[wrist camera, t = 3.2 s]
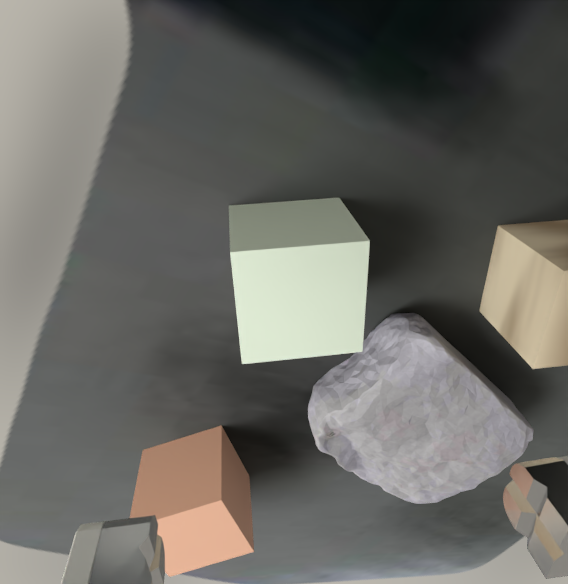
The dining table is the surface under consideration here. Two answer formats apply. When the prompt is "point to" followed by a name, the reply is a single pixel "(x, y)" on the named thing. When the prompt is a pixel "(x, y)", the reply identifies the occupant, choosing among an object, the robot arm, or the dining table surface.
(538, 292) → the birch cube
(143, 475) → the terracotta cube
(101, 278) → the dining table surface
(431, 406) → the stone block
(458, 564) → the dining table surface
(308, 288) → the sage cube
